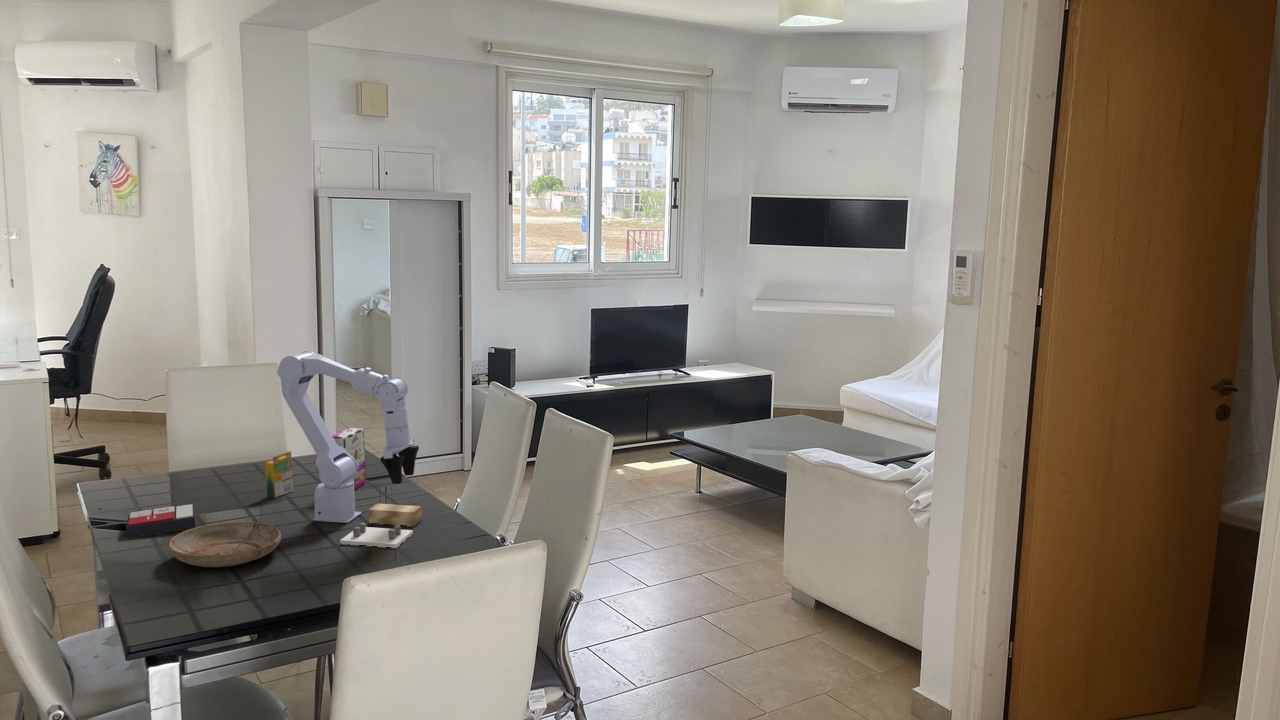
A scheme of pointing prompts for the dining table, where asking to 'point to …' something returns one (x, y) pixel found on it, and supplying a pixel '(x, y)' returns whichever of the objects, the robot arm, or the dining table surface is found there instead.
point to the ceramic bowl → (225, 543)
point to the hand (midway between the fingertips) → (403, 479)
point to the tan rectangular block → (395, 514)
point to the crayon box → (279, 475)
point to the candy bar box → (354, 451)
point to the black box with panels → (161, 520)
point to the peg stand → (376, 536)
